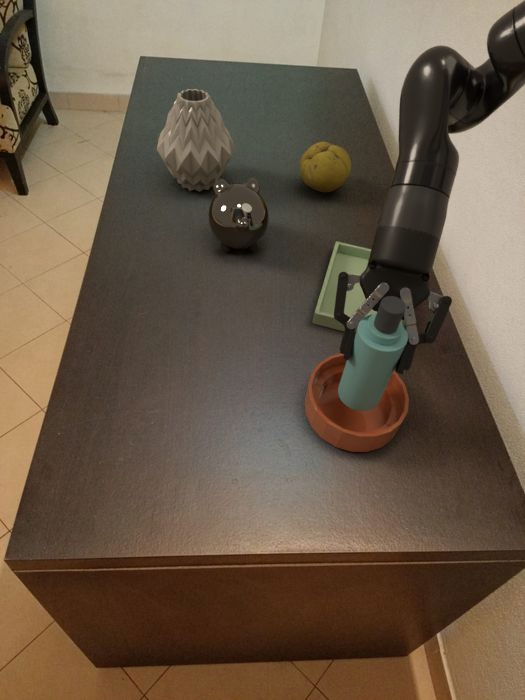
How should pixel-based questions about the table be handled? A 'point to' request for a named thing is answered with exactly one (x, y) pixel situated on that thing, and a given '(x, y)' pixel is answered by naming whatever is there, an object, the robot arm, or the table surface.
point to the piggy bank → (238, 214)
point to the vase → (195, 141)
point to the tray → (341, 261)
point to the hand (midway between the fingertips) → (372, 365)
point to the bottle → (374, 356)
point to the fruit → (325, 167)
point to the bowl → (348, 424)
